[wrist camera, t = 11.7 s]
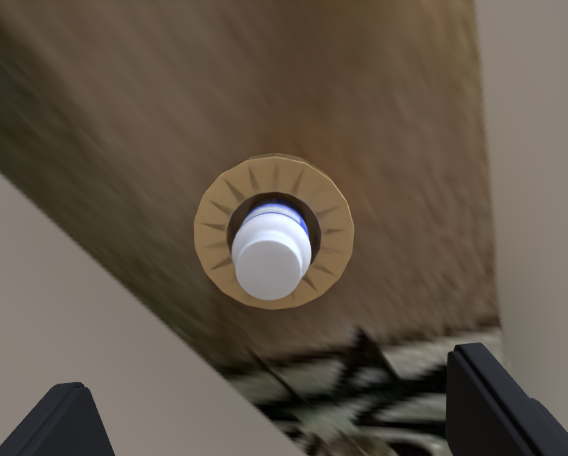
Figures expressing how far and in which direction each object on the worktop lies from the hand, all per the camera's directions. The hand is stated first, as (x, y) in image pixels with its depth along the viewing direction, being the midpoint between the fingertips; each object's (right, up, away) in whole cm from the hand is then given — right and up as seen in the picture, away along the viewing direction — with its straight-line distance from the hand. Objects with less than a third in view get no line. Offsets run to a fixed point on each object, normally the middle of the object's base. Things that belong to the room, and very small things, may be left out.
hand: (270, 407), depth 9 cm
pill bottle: (0, +5, +20) cm, 21 cm away
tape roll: (0, +5, +21) cm, 21 cm away
